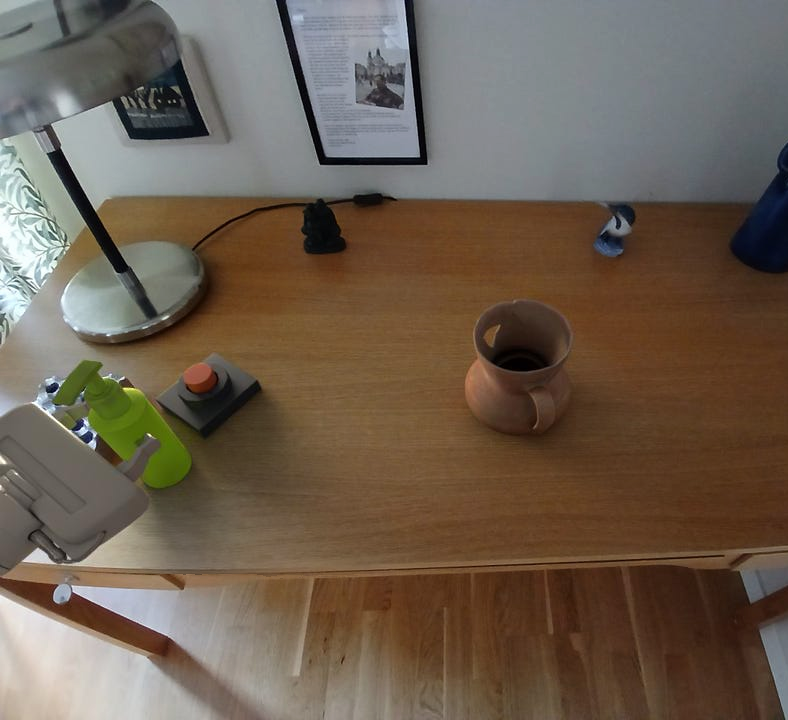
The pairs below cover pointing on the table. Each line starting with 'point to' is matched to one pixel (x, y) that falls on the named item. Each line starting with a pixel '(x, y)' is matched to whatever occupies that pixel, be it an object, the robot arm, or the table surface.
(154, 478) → the soap dispenser
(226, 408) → the red push button box
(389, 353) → the table surface
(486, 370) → the ceramic jug
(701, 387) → the table surface
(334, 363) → the table surface
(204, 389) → the button
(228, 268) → the table surface
